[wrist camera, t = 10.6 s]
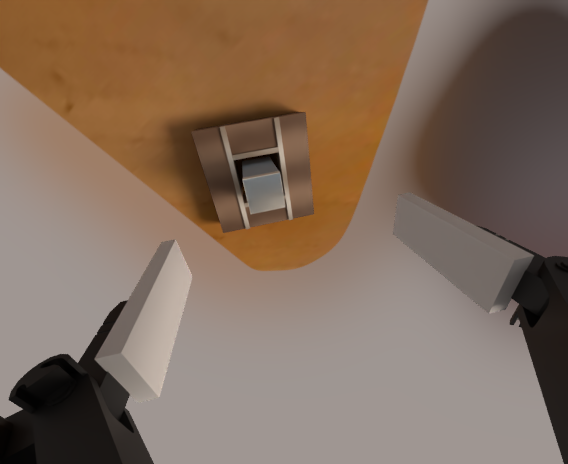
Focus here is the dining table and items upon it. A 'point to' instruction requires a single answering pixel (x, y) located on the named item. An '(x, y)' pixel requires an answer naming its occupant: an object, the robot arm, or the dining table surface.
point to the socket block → (249, 143)
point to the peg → (262, 185)
